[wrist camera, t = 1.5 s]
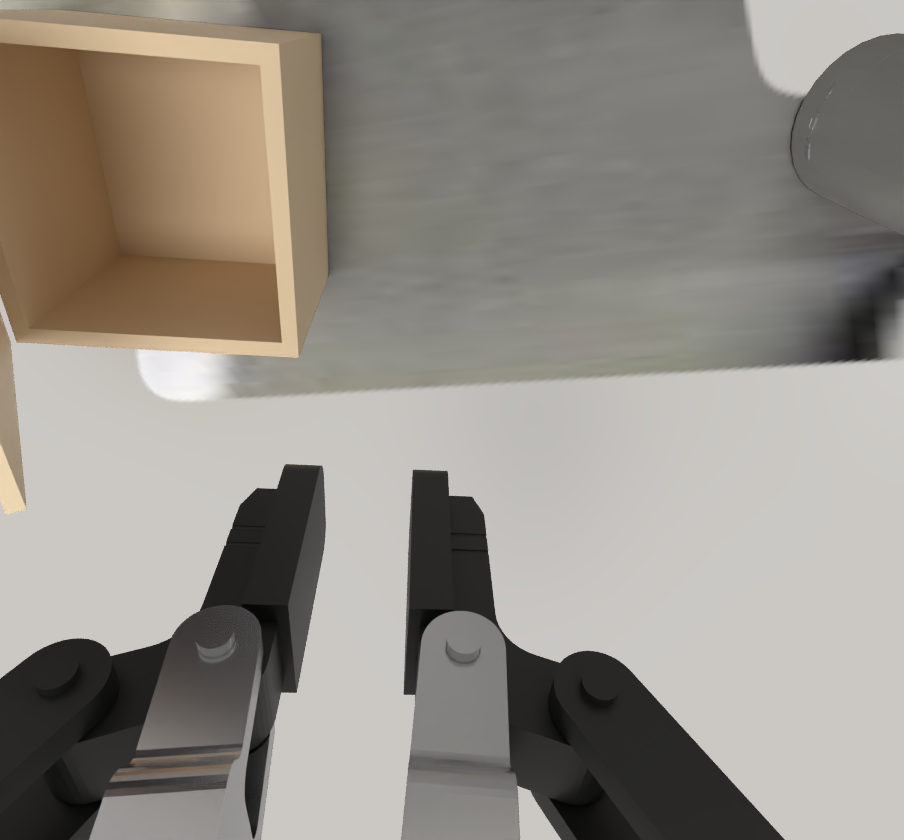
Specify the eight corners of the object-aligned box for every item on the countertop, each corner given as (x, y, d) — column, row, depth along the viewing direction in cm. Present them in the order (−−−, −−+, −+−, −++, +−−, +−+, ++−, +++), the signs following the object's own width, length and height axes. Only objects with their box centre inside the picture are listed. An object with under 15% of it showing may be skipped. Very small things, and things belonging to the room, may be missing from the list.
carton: (321, 33, 35) (278, 43, 25) (328, 274, 42) (298, 357, 32) (59, 9, 34) (-96, 10, 24) (116, 261, 41) (16, 342, 31)
